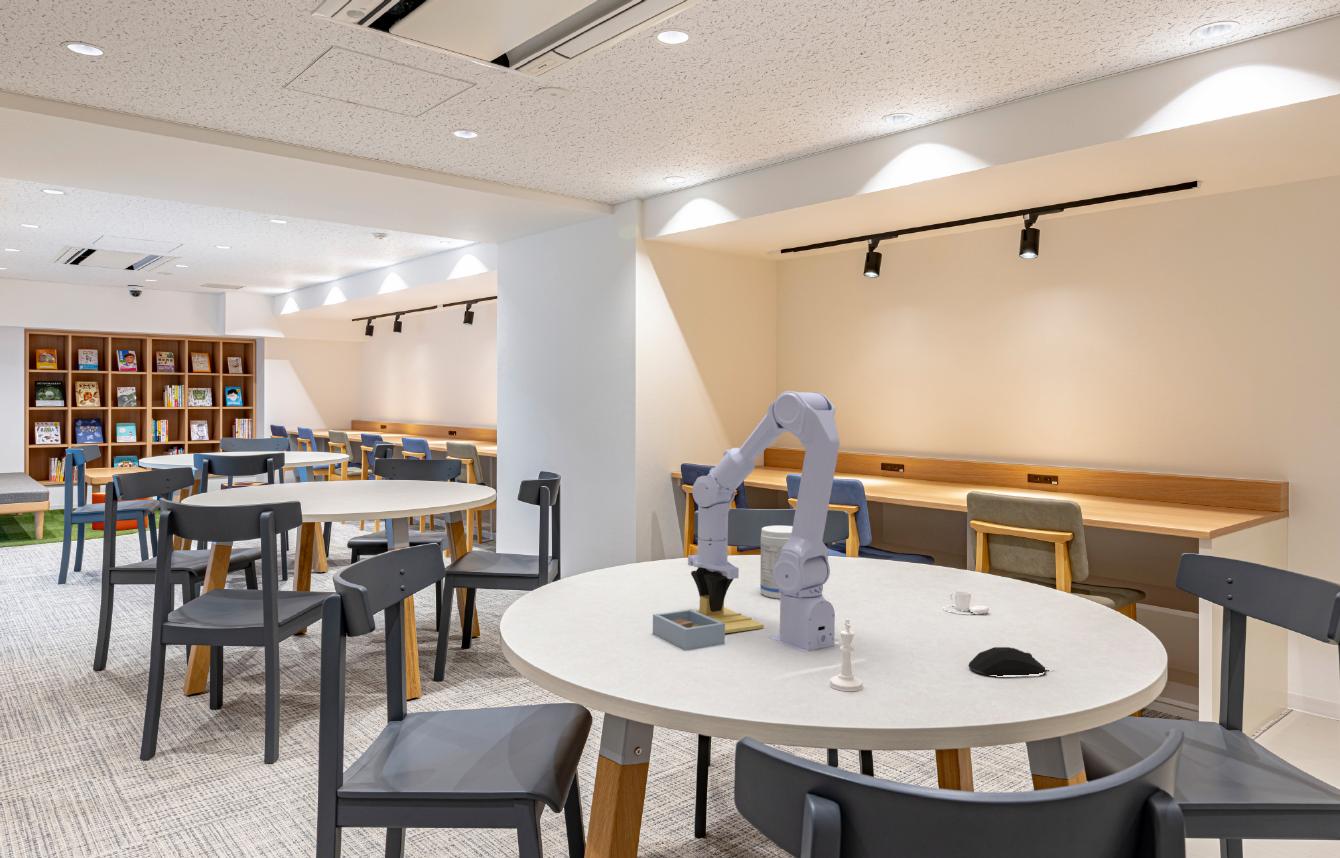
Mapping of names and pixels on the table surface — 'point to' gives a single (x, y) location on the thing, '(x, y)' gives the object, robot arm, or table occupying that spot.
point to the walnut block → (683, 623)
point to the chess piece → (846, 665)
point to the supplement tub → (771, 556)
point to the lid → (728, 617)
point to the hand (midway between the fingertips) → (711, 609)
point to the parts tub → (689, 629)
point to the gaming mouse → (1005, 662)
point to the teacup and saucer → (966, 603)
